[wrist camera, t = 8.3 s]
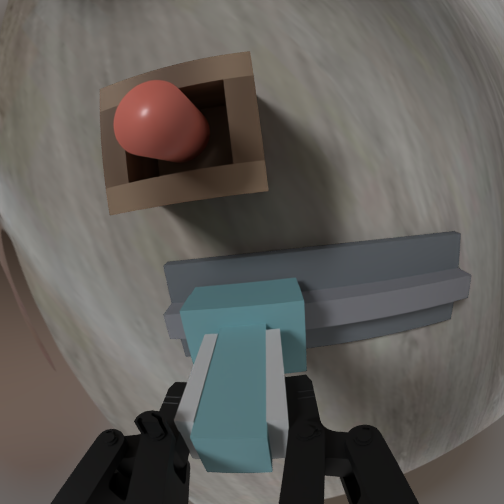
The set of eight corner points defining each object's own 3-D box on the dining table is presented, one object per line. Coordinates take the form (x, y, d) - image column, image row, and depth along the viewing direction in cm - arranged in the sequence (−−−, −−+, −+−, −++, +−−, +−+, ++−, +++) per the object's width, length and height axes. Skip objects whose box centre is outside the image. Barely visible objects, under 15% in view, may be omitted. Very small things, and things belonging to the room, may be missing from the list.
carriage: (207, 345, 20) (166, 478, 9) (195, 285, 19) (121, 409, 7) (299, 338, 20) (326, 477, 8) (295, 276, 19) (336, 406, 7)
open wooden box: (157, 203, 19) (109, 215, 13) (147, 113, 18) (99, 89, 11) (266, 187, 19) (268, 191, 12) (254, 93, 17) (249, 51, 10)
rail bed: (188, 350, 22) (179, 370, 20) (167, 261, 20) (153, 274, 18) (445, 314, 21) (461, 328, 18) (453, 231, 19) (474, 238, 16)
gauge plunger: (157, 167, 13) (116, 163, 9) (152, 114, 13) (112, 92, 8) (212, 157, 13) (190, 146, 9) (206, 102, 12) (184, 71, 8)
